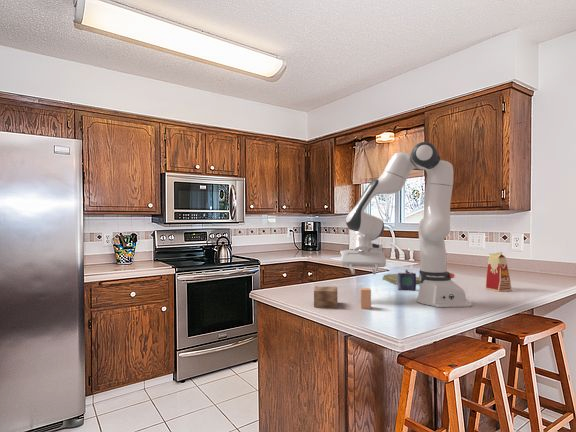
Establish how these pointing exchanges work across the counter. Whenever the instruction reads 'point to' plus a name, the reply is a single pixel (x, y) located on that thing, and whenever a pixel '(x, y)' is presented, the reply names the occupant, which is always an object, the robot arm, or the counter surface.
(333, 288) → the small wooden cube
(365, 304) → the terracotta block
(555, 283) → the counter surface
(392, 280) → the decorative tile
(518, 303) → the counter surface
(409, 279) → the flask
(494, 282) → the milk carton
